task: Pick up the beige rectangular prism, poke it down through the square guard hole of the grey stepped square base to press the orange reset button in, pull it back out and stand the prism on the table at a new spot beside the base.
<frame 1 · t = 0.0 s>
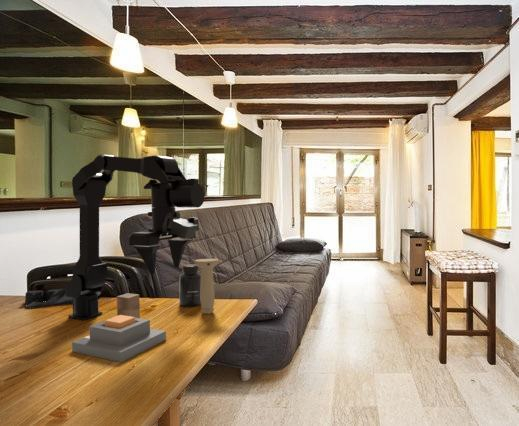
hand: (165, 270, 102), 15 cm above the table, fingers open, 9 cm apart
grey stepped square base: (120, 345, 92), on the table
reset button: (120, 324, 91), point 5 cm above the table, slide at 0.0 cm
beige rectangular prism: (128, 321, 109), on the table
supplement bottle: (191, 304, 126), on the table
dark slate chunk: (64, 302, 133), on the table
handle: (207, 313, 116), on the table
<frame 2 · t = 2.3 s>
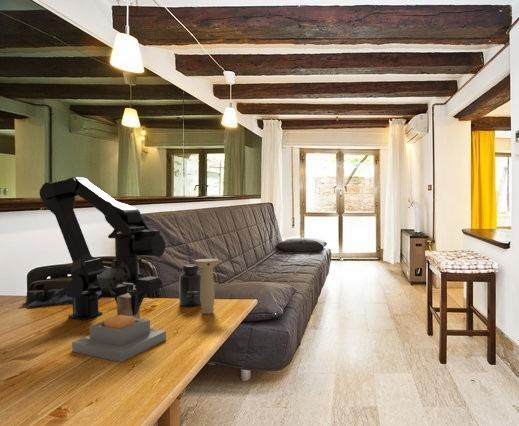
hand: (128, 313, 109), 2 cm above the table, fingers closed on beige rectangular prism, 4 cm apart
beige rectangular prism: (128, 321, 109), on the table, touching gripper
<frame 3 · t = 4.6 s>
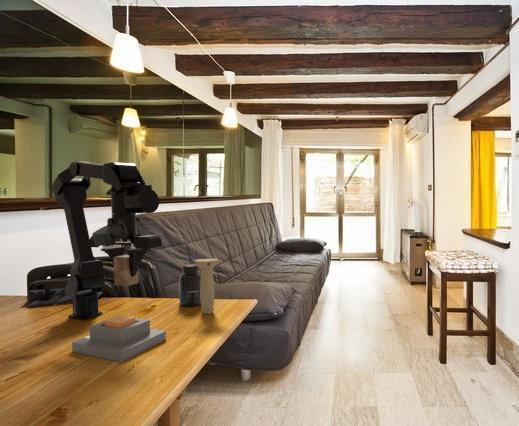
hand: (126, 275, 102), 13 cm above the table, fingers closed on beige rectangular prism, 4 cm apart
beige rectangular prism: (126, 284, 103), point 11 cm above the table, touching gripper
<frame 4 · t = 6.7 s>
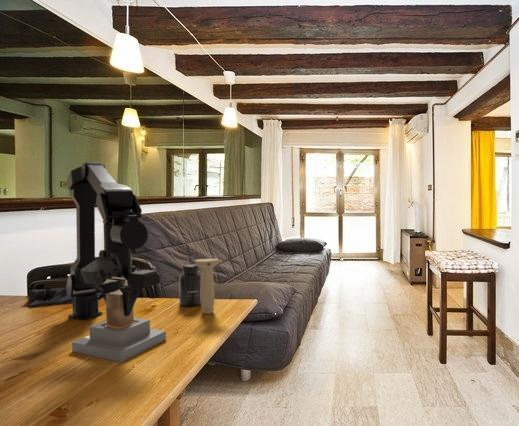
hand: (119, 314, 91), 7 cm above the table, fingers closed on beige rectangular prism, 4 cm apart
reset button: (120, 329, 91), point 4 cm above the table, slide at 1.1 cm, touching beige rectangular prism
beige rectangular prism: (120, 323, 91), point 5 cm above the table, touching gripper, reset button
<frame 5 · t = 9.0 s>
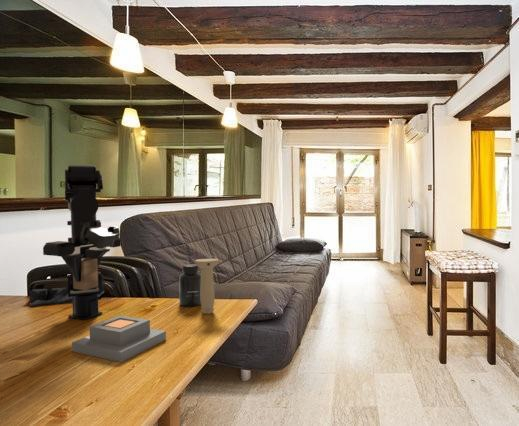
hand: (85, 279, 101), 13 cm above the table, fingers closed on beige rectangular prism, 4 cm apart
reset button: (120, 329, 91), point 4 cm above the table, slide at 1.1 cm
beige rectangular prism: (85, 287, 101), point 11 cm above the table, touching gripper
when the fingers open (3 cm above the table, at t = 11.0 s): beige rectangular prism drops 2 cm, on the table.
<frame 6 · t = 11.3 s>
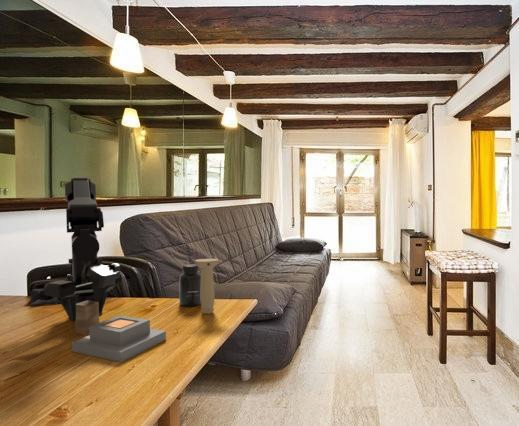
hand: (86, 316, 102), 3 cm above the table, fingers open, 8 cm apart
beige rectangular prism: (87, 331, 102), on the table
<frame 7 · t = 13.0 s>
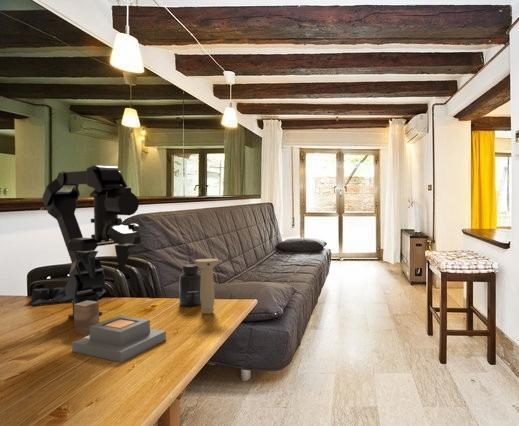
hand: (107, 274, 107), 13 cm above the table, fingers open, 9 cm apart
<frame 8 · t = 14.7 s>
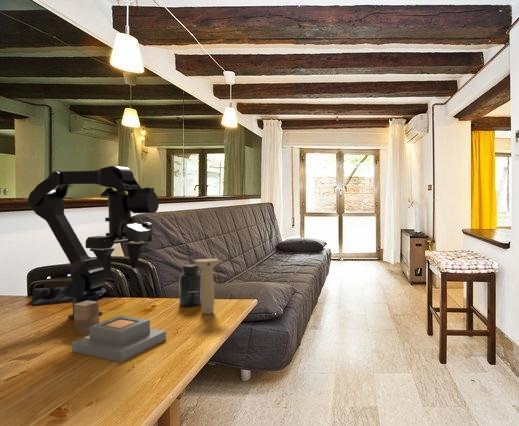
hand: (121, 271, 111), 13 cm above the table, fingers open, 9 cm apart
at the end: reset button slide at 1.1 cm; beige rectangular prism inside the target area (0.1 cm from its centre), on the table; beige rectangular prism tilted 0° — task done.
